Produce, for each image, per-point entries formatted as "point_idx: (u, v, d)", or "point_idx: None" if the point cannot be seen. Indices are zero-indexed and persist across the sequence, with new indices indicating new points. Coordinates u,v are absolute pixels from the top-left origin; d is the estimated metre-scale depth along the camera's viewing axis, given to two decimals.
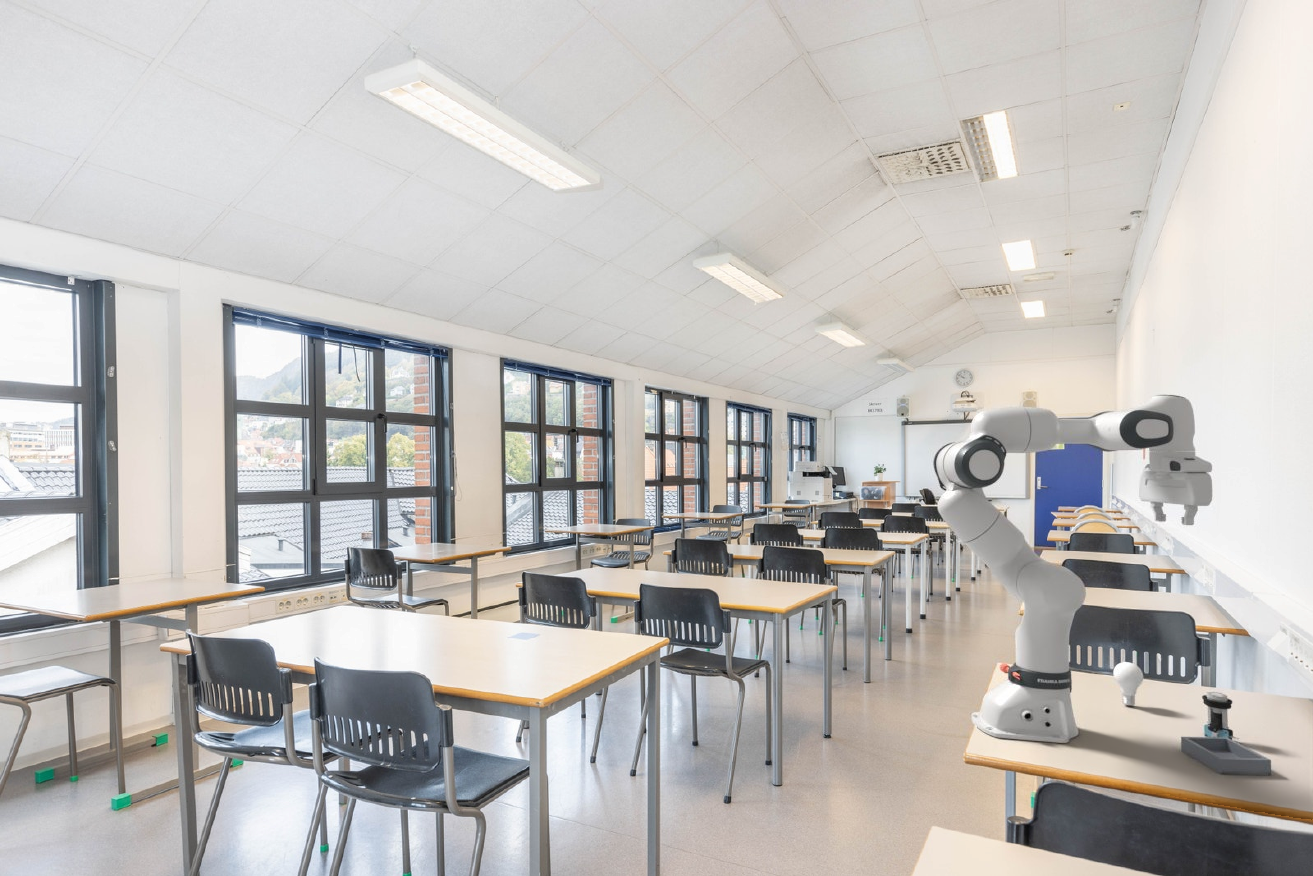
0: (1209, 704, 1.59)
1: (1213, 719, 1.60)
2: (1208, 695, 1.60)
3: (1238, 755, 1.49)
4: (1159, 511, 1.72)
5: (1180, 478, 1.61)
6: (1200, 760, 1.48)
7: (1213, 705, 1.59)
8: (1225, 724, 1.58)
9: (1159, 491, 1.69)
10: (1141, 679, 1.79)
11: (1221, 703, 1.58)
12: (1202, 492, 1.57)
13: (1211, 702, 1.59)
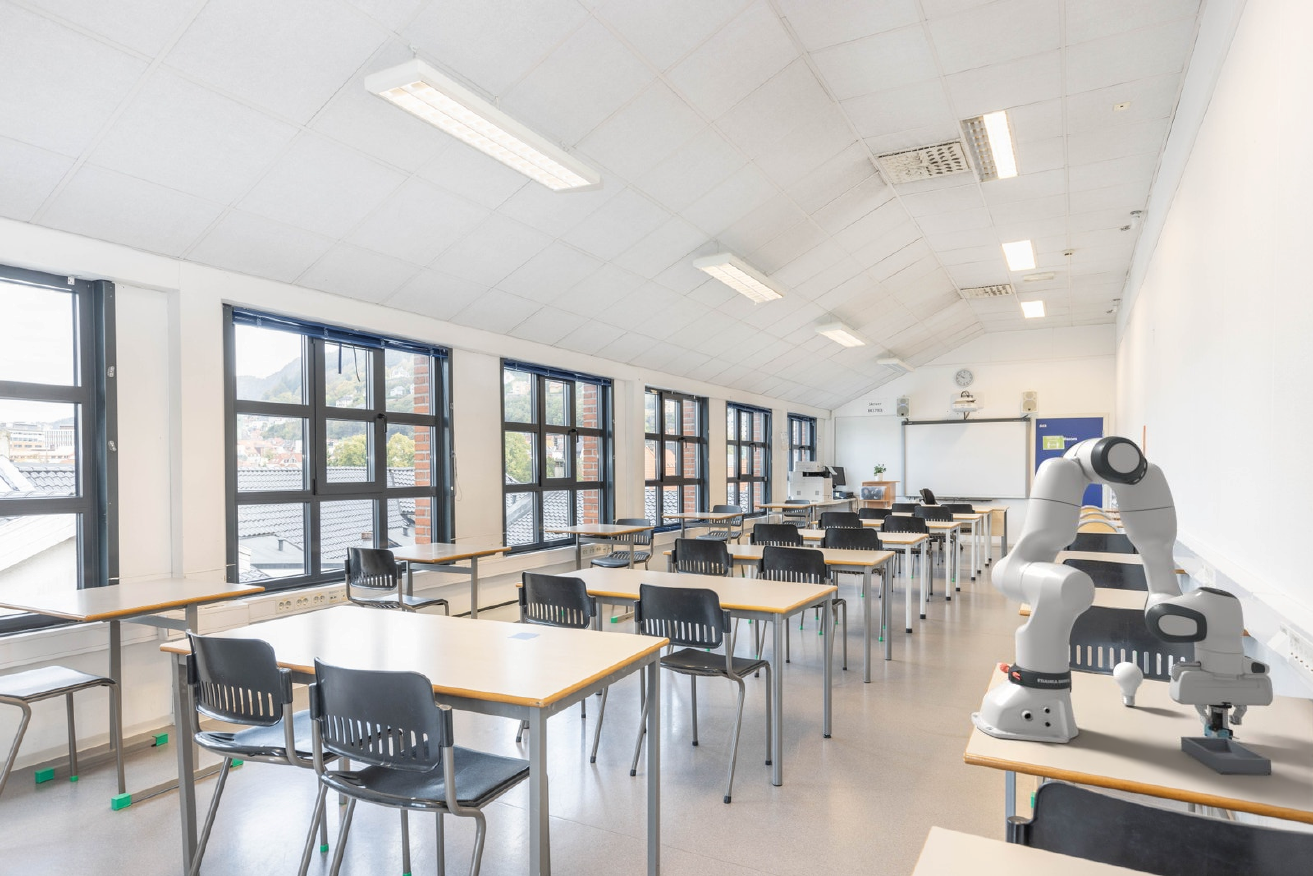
0: None
1: (1214, 718, 1.60)
2: None
3: (1238, 755, 1.49)
4: None
5: (1254, 679, 1.57)
6: (1200, 760, 1.48)
7: None
8: (1225, 724, 1.58)
9: (1217, 693, 1.58)
10: (1141, 679, 1.79)
11: (1222, 702, 1.58)
12: None
13: None
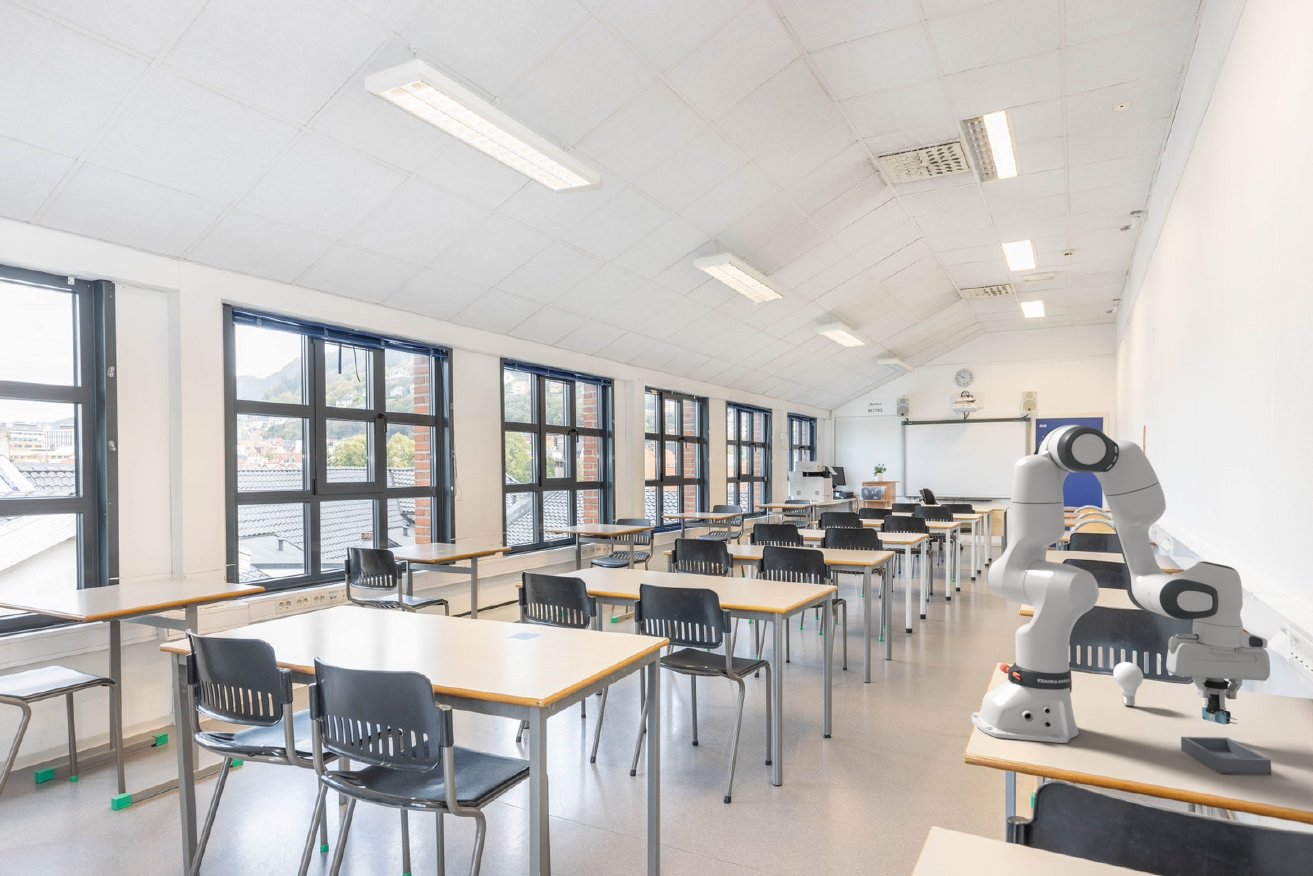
0: (1206, 685, 1.60)
1: (1210, 700, 1.60)
2: None
3: (1238, 755, 1.49)
4: None
5: (1251, 653, 1.57)
6: (1200, 760, 1.48)
7: (1210, 685, 1.59)
8: (1222, 705, 1.58)
9: (1214, 666, 1.58)
10: (1141, 679, 1.79)
11: (1218, 683, 1.58)
12: None
13: (1208, 682, 1.60)
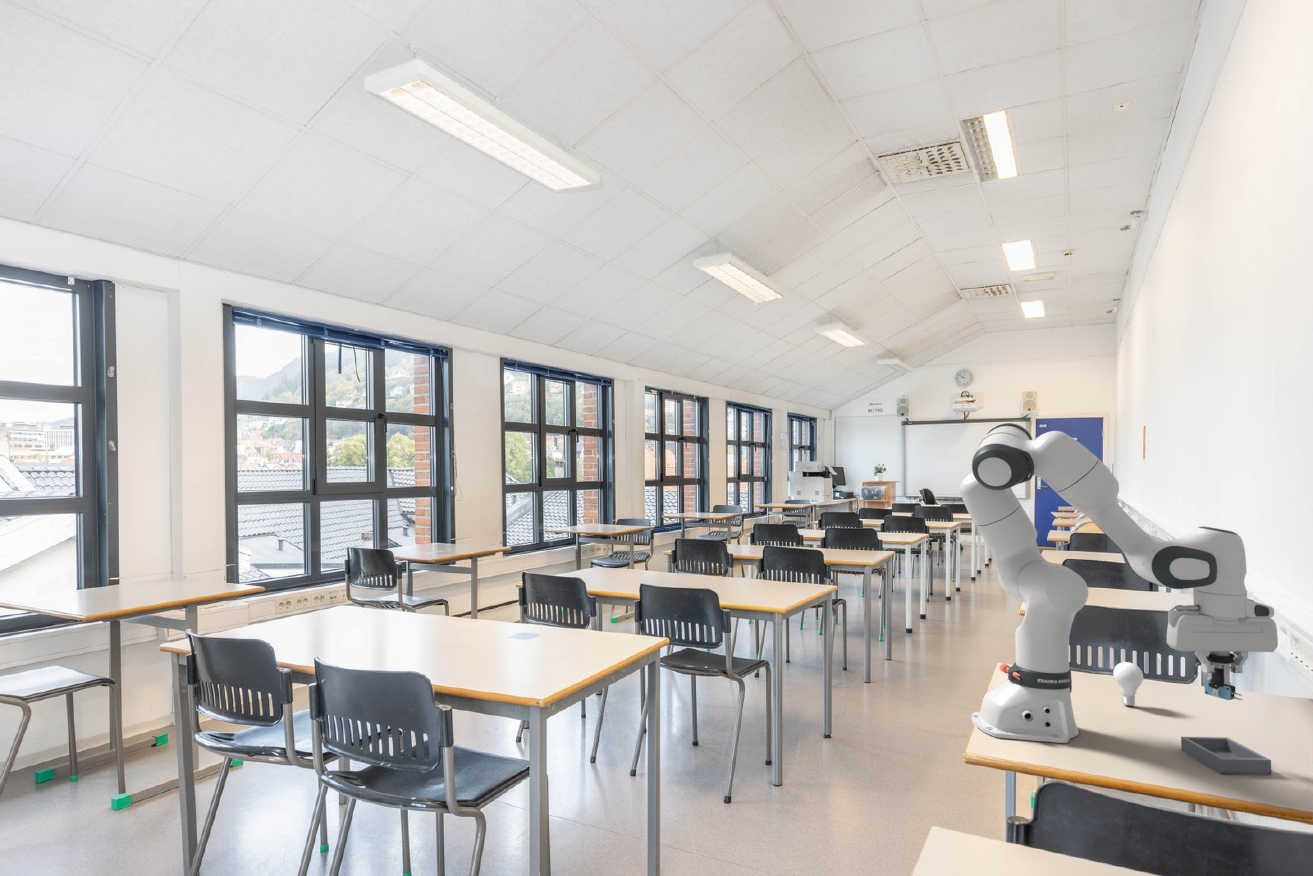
0: (1210, 659, 1.49)
1: (1214, 675, 1.49)
2: None
3: (1238, 755, 1.49)
4: None
5: (1257, 623, 1.46)
6: (1200, 760, 1.48)
7: (1214, 660, 1.48)
8: (1227, 680, 1.48)
9: (1218, 639, 1.47)
10: (1141, 679, 1.79)
11: (1223, 657, 1.47)
12: None
13: (1212, 656, 1.48)
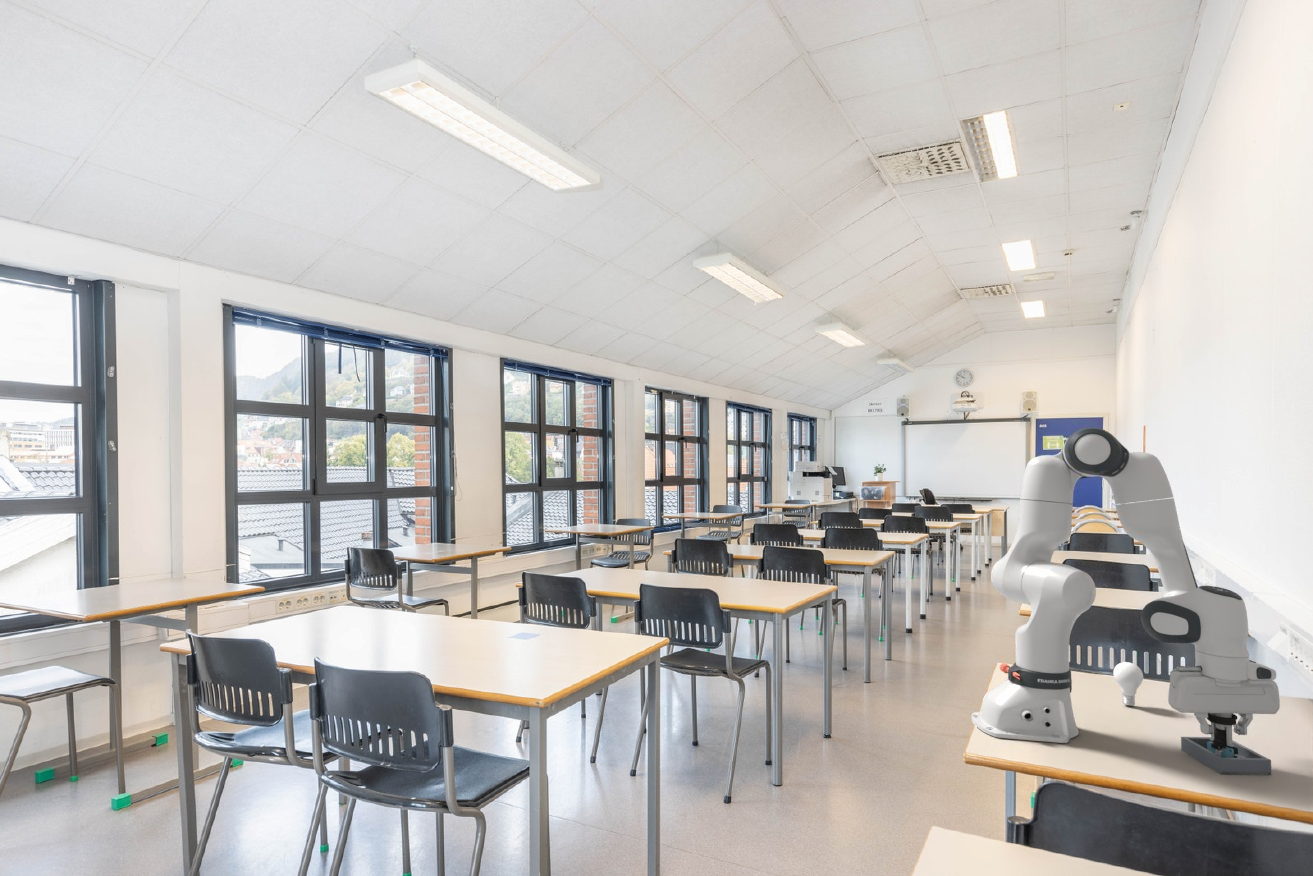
0: (1212, 720, 1.48)
1: (1217, 736, 1.49)
2: None
3: None
4: None
5: (1259, 685, 1.46)
6: (1200, 760, 1.48)
7: (1217, 721, 1.47)
8: (1230, 741, 1.47)
9: (1220, 700, 1.46)
10: (1141, 679, 1.79)
11: (1225, 719, 1.47)
12: None
13: (1215, 718, 1.48)
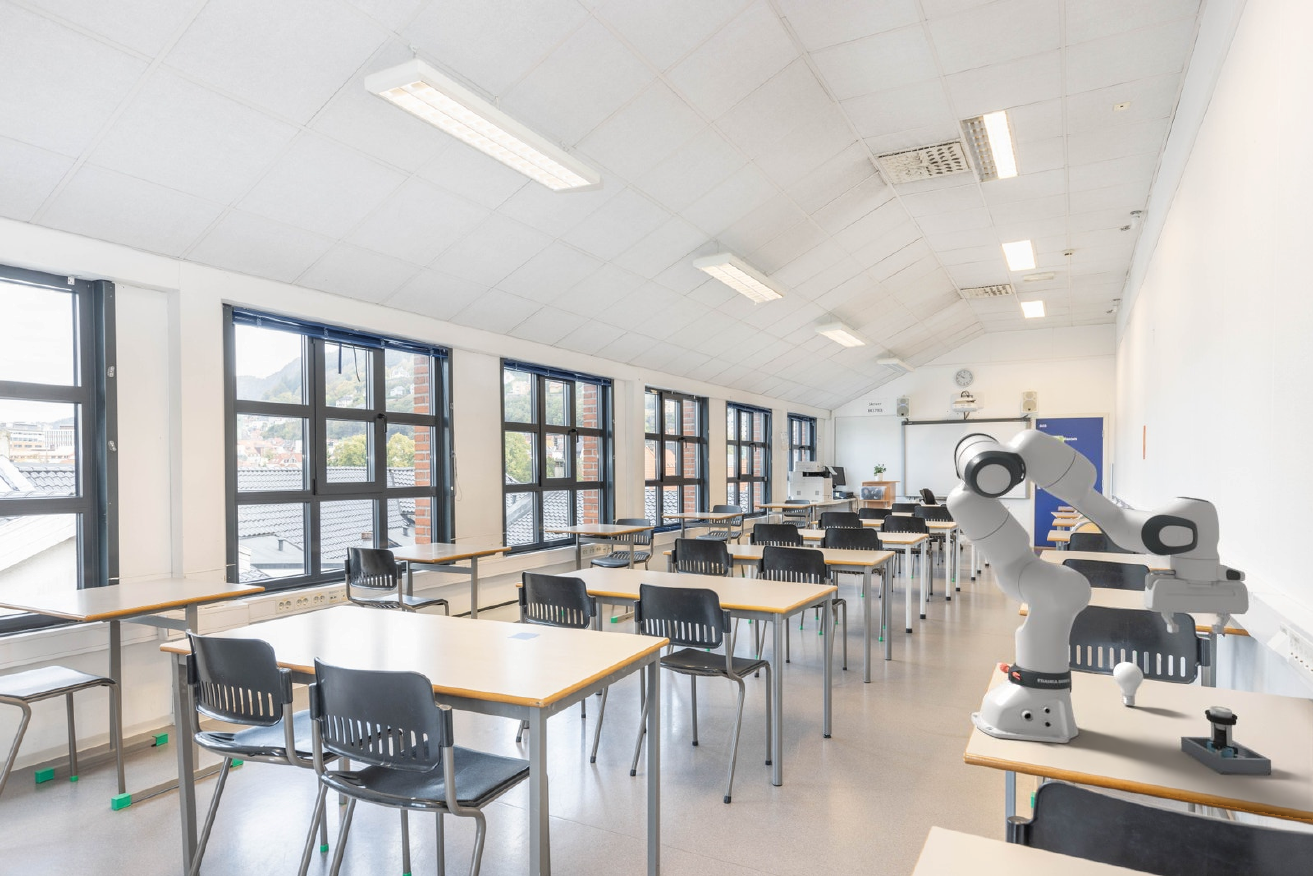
0: (1212, 720, 1.48)
1: (1217, 736, 1.49)
2: (1211, 710, 1.49)
3: None
4: None
5: (1229, 587, 1.56)
6: (1200, 760, 1.48)
7: (1217, 721, 1.47)
8: (1230, 741, 1.47)
9: (1191, 601, 1.57)
10: (1141, 679, 1.79)
11: (1225, 719, 1.47)
12: None
13: (1215, 718, 1.48)
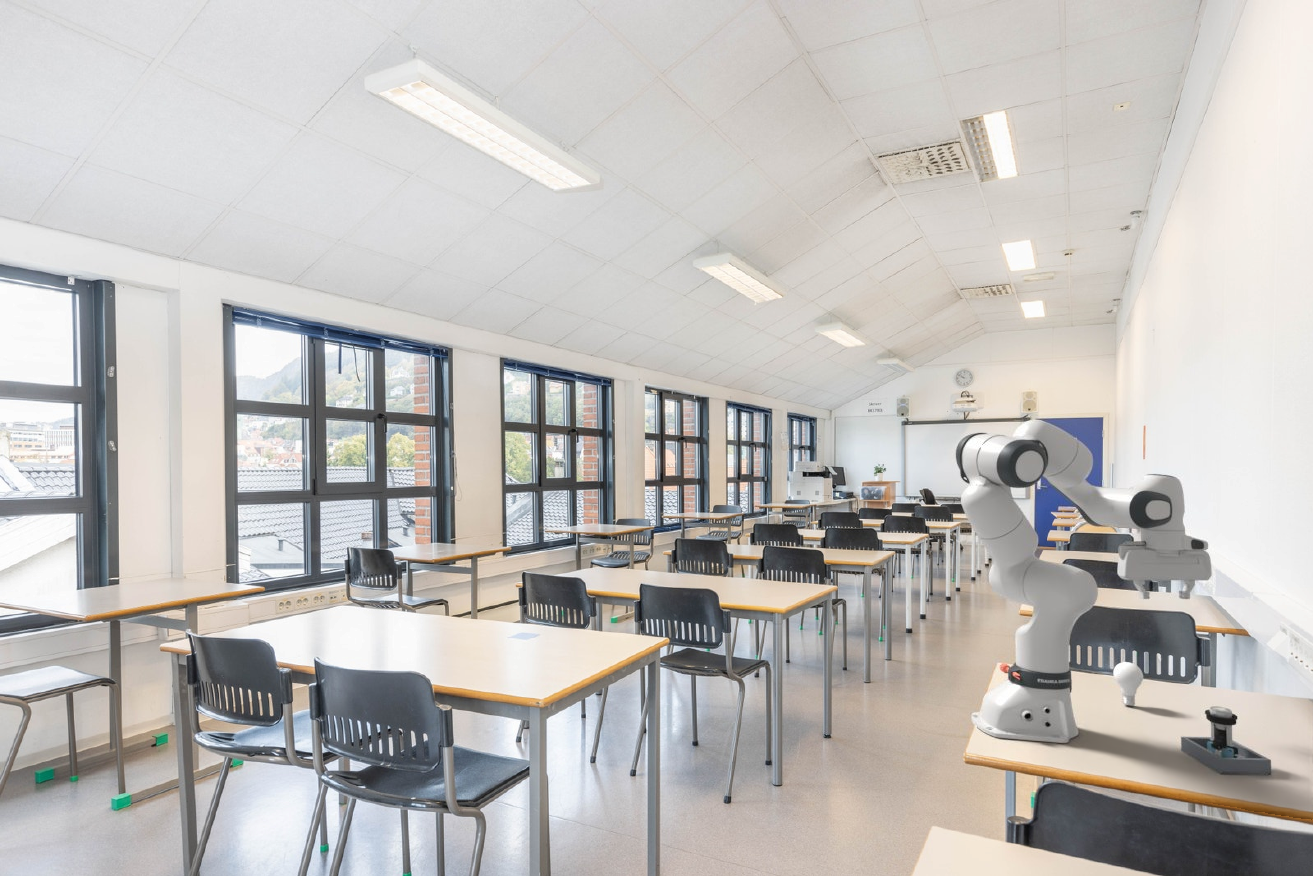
0: (1212, 720, 1.48)
1: (1217, 736, 1.49)
2: (1211, 710, 1.49)
3: None
4: None
5: (1194, 555, 1.70)
6: (1200, 760, 1.48)
7: (1217, 721, 1.47)
8: (1230, 741, 1.47)
9: (1160, 569, 1.71)
10: (1141, 679, 1.79)
11: (1225, 719, 1.47)
12: None
13: (1215, 718, 1.48)
